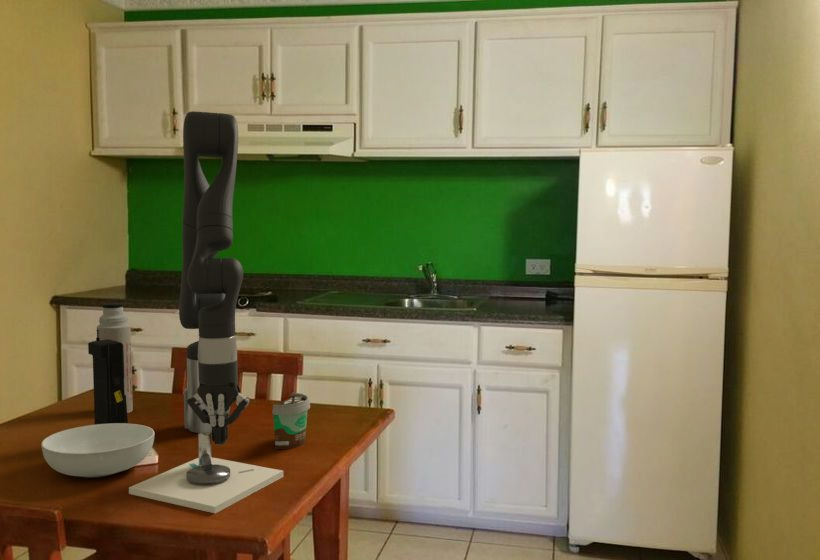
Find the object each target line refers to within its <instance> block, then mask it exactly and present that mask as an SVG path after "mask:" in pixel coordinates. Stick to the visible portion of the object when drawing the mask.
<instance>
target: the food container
mask: <svg viewBox="0 0 820 560" xmlns="http://www.w3.org/2000/svg"><path fill="white" fill-rule="evenodd" d="M310 408H311V403H310V399H309V397H308V396H307V395H305V394H303V393H301V392H300V393H299V392H291V395H290V397H289V398H288V399H284V400H283V401H281V403H279V404H272V412H271V413H272V416H273V430H274V431H273V432H274V445H275V446H274V449H275V450H277V449H280V450H282V449H286V450H287V449H292V448H298V447H302V446H303V445H304V444H305V443H306V438H307V437H306V435H307V420H308V410H310Z"/></svg>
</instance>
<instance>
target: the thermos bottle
mask: <svg viewBox="0 0 820 560" xmlns="http://www.w3.org/2000/svg"><path fill="white" fill-rule="evenodd" d="M102 308H103V310H102V315H100V316H99V320H98V322H99V325H97V326H96V330H99V331H98V333H99V338H100V340H107V339H109V340H113V341H117V342H121V343H122V344H123V350H124V392H125V395H126V403H127V414H129V413H131V412H132V411H133V407H134V406H133V404H134V402H133V376H132V374H133V373H132V370H133V369H132V336H131V335H132V334H131V333H132V332H131V324H130V323H128V316H127V315H126V314H124V313H125V312H124V303H121V302H107V303H103V304H102Z"/></svg>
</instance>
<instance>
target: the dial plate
mask: <svg viewBox="0 0 820 560" xmlns="http://www.w3.org/2000/svg"><path fill="white" fill-rule="evenodd" d="M211 464H212V465H224V466H227V467H229V468H230V477H229V478H228V479H227V480H225V481H222V482H219V483H214V484H193V483H190V482H188V481H187V477H186V473H187V471H188V470H190V469H192V468H194V467H198V466H202V465H199V457H197V458H194V459H193V460H190V461H187V462H185V463H183V464H180V465H178V466H176V467H173V468H171V469H168V470H167V471H164V472H162V473H159V474H157V475H154V476H153V477H149V478H148V479H146V480H143V481H141V482H138V483H136V484H134V485H132V486H131V485H130V486H129V487H128V494H129V495H133V496H137V497H141V498H146V499H150V500H155V501H159V502H163V503H168V504H173V505H177V506H180V507H186V508H190V509H195V510H199V511H203V512H208V513H212V514H218V513H220V512H221V511H222V510H224V509H227V508H228V507H230V506H232V505H234V504H236V503H237V502H239V501H241V500H243V499H245V498H247V497H248V496H250V495H252V494H255V493H256V492H258V491H259V490H262V489H263V488H265V487H267V486H269V485H271V484H272V483H274V482H276V481H279V480H280V479H282V478H284V470H282V469H276V468H270V467H266V466H265V467H264V466H259V465H254V464H250V463H245V462H239V461H233V460H228V459H223V458H217V457H212V456H211Z"/></svg>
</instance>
